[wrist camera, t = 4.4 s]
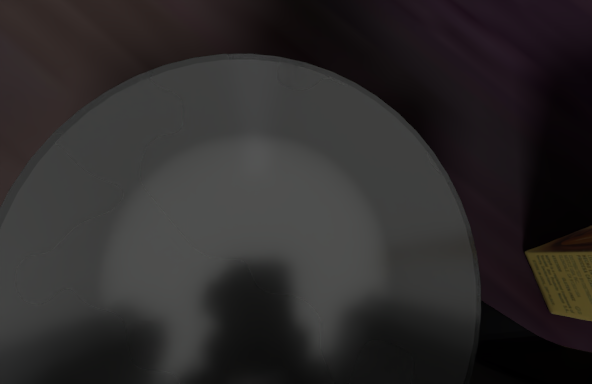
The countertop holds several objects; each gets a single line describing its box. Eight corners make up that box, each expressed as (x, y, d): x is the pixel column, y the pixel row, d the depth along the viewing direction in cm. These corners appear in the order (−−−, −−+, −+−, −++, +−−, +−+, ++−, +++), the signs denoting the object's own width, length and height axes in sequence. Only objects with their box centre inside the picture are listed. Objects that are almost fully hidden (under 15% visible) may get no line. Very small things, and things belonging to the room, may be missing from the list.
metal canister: (317, 283, 16) (566, 373, 4) (217, 339, 14) (93, 773, 2) (271, 189, 16) (354, 0, 4) (171, 234, 15) (-120, 146, 3)
